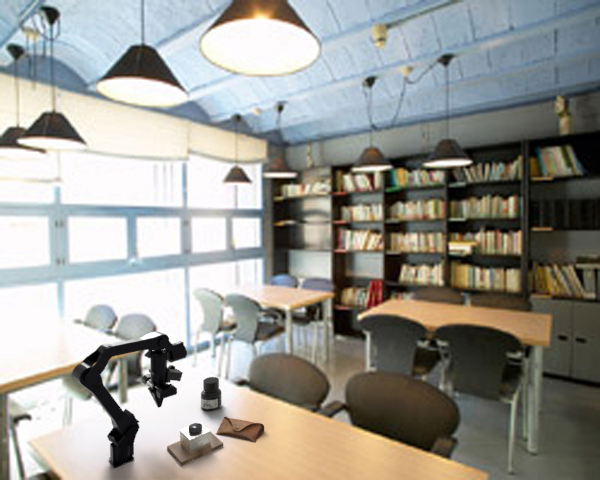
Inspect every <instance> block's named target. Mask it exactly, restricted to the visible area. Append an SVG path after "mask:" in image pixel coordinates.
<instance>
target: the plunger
mask: <svg viewBox="0 0 600 480" xmlns="http://www.w3.org/2000/svg"><path fill="white" fill-rule="evenodd" d="M202 424H203V423H202ZM202 424H200V423H199V422H194V423H191V424H190V425H189V426H187V427H188V431H189V433H192V434H195V433H199V432H200V431H202Z"/></svg>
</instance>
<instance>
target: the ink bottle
mask: <svg viewBox="0 0 600 480" xmlns="http://www.w3.org/2000/svg"><path fill="white" fill-rule="evenodd" d="M202 383H203V384H202V387H203V390H202V391H201V393H200V408H201V409H202V410H204V411H207V412H209V411H210V412H211V411H216V410H218V409H220V408H221V407H222V390H221V389H220V379H219V378H218V377H216V376H210V377H206V378H204V379H203V382H202Z"/></svg>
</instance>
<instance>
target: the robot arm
mask: <svg viewBox="0 0 600 480" xmlns="http://www.w3.org/2000/svg"><path fill="white" fill-rule="evenodd" d="M184 344H185V343H184V341H181V340H180V341H177V342H174V343H171V341H170V337H169V336H168V334H166V333H162V332H160V331H157V330H155V331H151V332H149V333H145V335H143V336H141V337H137V338H131V339H126V340H122V341H116V342H112V343H103V344H101V345H99V346H98V347H97V348H96V349H95V350H94V351H93V352H92V353H90V354H89V355H87V356H86V357H85V358H83V360H82V361H81V362H80V363H79V364H76V366H75V367H74V368H73V369H72V372H71V376H72V379H74V380H75V381H76V382H78V383H79V384H80V385H81V386H83V387H84V388H85V389H87V390H88V391H89V392H90V394H91V395H92V396H93V397H94V399H95V400H96V401H97V402H98V403H99V405H100V406H101V408H102V409H103V410H104V411H105V413H106V414H107V415H108V417H109V418H110V420H111V425H112V429H110V431H109V433H108V434H107V436H106V438H107V440H108V441H110V444H109V449H110V450H109V453H110V454H109V455H110V456H109V457H108V460H109V462H110V464H111V465H112V468H114V469H115V468H118V467H120V466H123V465H125V464H127V463H130V462H132V461H134V460H135V457H134V455H135V448H134V447H135V445H134V442H135V440H136V437H137V434H138V432H139V429H140V424H139V423H140V420H138V419H137V418H136V415H135V414H134V413H133V412H131V411H130V410H128V409H127V408H125V409H124V410H123V409H122V408H121V406H120V405H119V404H118V403H117V401H116V400H115V398H114V397H113V396H112V394H111V393H110V392H109V390H108V389H107V388H106V386H105V385H104V382H103V377H102V375H101V374H102V373H103V372H104V371H105V370H106V368H107V365H108V363H109V362H110V360H111V359H112V358H114V357H117V356H122V355H127V354H131V353H135V352H141V351H147V352H146V353H144V355H143V356H144V357H146V358H148V359H150V360H149V361H150V367H149V368H148V373H146V374H144V375H143V376H142V378H141V380H142V381H141V382H142V384H143V385H144V386H145V385H147V384H149V387H148V388H147V390H148V391H149V393H150V395H151V397H152V399H153V401H154V403H155V405H156V407H157V408H158V409H159V408H161V407H162V405H163V402H164V399H167V398H170V397H172V396H177V394H178V388H177V387H176V386H175V385H173V384H172V383H171V381H173V382H174V381H177V382H180V381H181V380H182V377H183V372H182V371H180V369H177V368H176V367H175V365H173V364H172V365H171V364H170V365H169V366H168V362H169V363H174V362H176V361H177V362H178V361H180V360H183V359H185V358H187V355H188V350H187V347H186V346H185V345H184Z"/></svg>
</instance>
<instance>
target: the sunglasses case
mask: <svg viewBox="0 0 600 480" xmlns="http://www.w3.org/2000/svg"><path fill="white" fill-rule="evenodd" d="M264 431H265V425H264V424H263V423H260V422H253V421H248V420H245V419H243V420H242V419H238V418H231V417H227V416H223V419H222V420H221V423H220V425H219V426H218V429H217V431H216V433H215V436H216V435H217V436H218V435H219V436H226V437H231V438H236V439H241V440H247V441H249V442H250V441H251V442H253V443H256V442H257V440H259V438H260V436H261V435H262V433H263V432H264Z"/></svg>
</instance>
